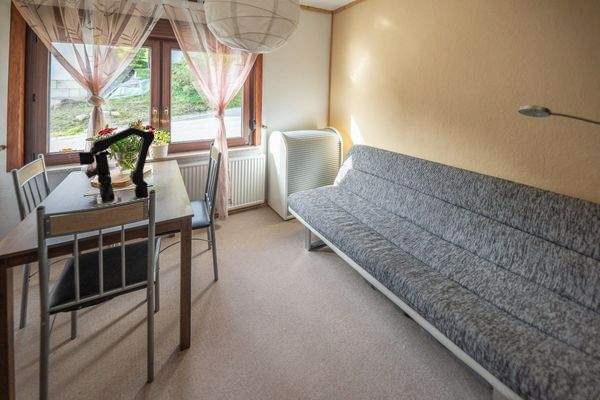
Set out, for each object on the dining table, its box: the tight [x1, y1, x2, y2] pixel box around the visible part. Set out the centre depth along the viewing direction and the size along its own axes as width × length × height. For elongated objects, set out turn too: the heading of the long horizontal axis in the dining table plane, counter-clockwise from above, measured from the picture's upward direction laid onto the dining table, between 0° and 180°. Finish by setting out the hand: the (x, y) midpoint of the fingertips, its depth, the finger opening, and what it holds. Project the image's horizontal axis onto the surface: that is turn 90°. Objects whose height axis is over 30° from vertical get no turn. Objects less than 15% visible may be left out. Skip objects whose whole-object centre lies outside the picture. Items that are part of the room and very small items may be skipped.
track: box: [93, 190, 123, 207], centre depth 191 cm, size 13×14×4 cm
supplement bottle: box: [98, 182, 115, 201], centre depth 190 cm, size 7×7×12 cm
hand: (106, 190), depth 190 cm, fingers open, 9 cm apart
